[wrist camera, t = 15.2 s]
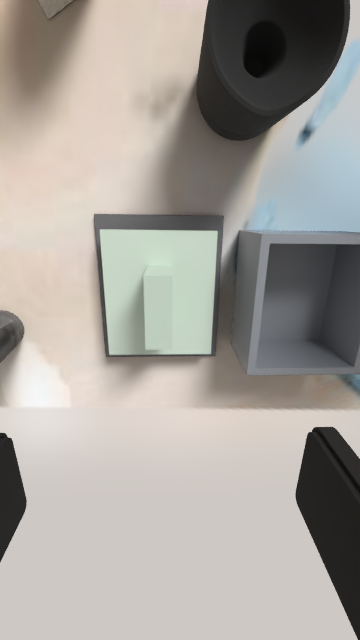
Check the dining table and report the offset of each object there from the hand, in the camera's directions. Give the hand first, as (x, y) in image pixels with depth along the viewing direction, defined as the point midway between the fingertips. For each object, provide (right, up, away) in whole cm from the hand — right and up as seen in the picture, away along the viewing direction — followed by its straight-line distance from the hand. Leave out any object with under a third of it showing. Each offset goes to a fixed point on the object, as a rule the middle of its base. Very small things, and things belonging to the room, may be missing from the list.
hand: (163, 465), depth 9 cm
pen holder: (+6, +27, +19) cm, 34 cm away
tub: (+13, +8, +26) cm, 30 cm away
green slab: (-2, +8, +25) cm, 26 cm away
